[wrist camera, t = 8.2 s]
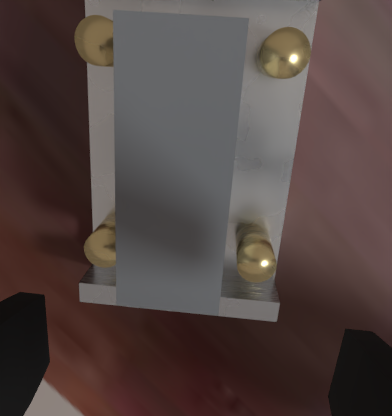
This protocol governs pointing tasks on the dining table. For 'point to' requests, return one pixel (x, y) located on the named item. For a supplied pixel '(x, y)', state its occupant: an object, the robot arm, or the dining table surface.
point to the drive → (174, 155)
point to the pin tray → (245, 145)
